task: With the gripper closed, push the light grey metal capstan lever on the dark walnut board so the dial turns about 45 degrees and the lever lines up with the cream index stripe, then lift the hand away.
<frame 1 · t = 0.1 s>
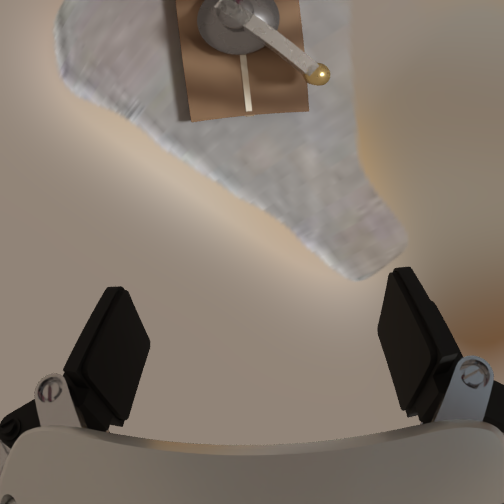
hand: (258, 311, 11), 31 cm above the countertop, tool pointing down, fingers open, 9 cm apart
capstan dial: (263, 34, 26), point 5 cm above the countertop, hinge at 45.0°
walnut board: (241, 37, 30), on the countertop
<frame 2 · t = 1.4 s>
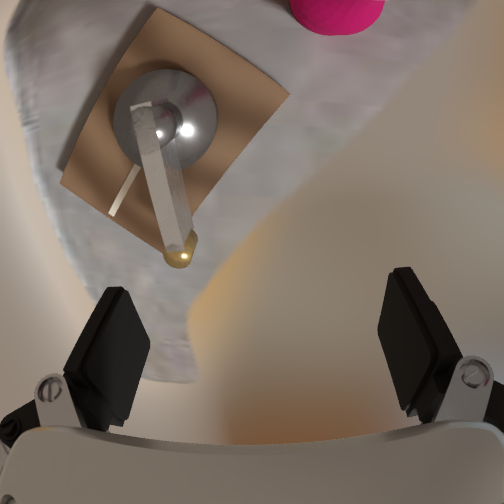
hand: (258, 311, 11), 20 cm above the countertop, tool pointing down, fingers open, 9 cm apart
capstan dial: (166, 166, 24), point 5 cm above the countertop, hinge at 45.0°
pepper mill: (324, 5, 20), on the countertop
walnut board: (161, 133, 27), on the countertop
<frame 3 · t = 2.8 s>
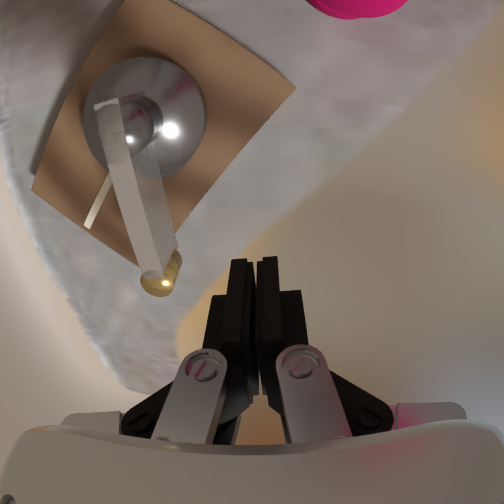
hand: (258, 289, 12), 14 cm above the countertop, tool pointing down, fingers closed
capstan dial: (142, 176, 19), point 5 cm above the countertop, hinge at 45.0°
walnut board: (142, 133, 22), on the countertop
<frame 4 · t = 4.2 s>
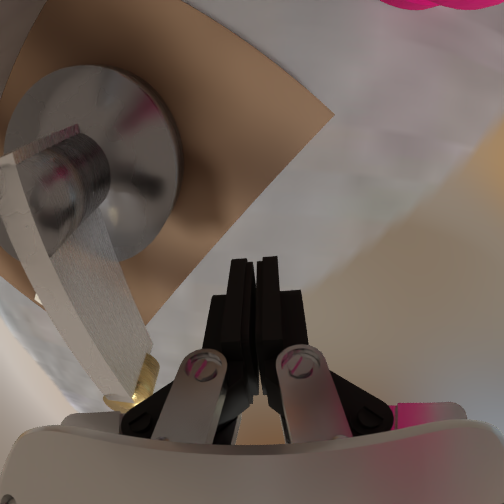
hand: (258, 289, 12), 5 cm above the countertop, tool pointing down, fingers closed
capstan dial: (86, 264, 12), point 5 cm above the countertop, hinge at 45.0°
walnut board: (94, 180, 15), on the countertop
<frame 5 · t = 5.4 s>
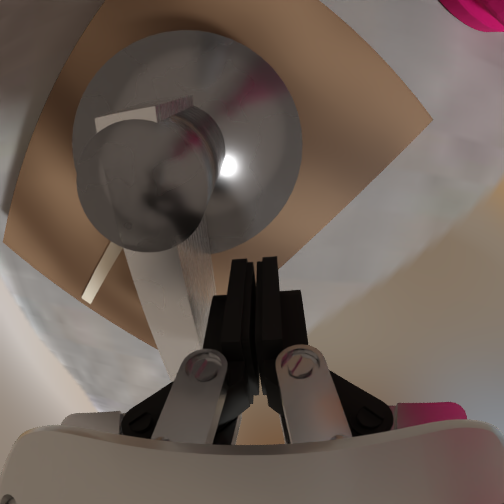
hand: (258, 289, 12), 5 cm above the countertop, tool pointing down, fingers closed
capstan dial: (182, 254, 11), point 5 cm above the countertop, hinge at 42.6°, touching gripper
walnut board: (171, 165, 14), on the countertop
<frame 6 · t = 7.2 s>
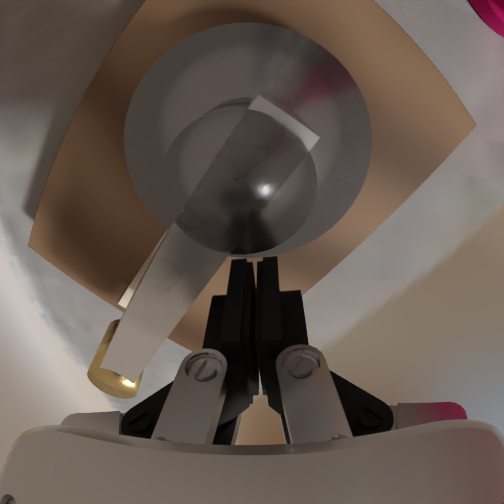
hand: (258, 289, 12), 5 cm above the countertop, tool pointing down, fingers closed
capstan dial: (187, 241, 11), point 5 cm above the countertop, hinge at 4.8°
walnut board: (222, 163, 14), on the countertop
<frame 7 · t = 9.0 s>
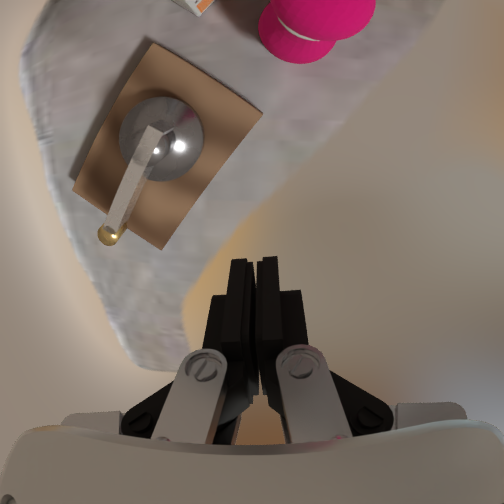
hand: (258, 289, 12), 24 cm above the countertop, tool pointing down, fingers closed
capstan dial: (139, 172, 29), point 5 cm above the countertop, hinge at 4.7°
pepper mill: (292, 35, 26), on the countertop
walnut board: (158, 148, 33), on the countertop
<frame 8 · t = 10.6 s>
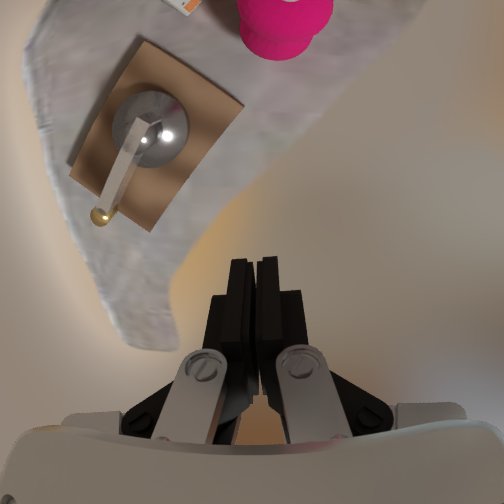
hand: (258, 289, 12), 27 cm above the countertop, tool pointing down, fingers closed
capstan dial: (129, 160, 31), point 5 cm above the countertop, hinge at 4.7°
pepper mill: (274, 33, 28), on the countertop
walnut board: (149, 137, 34), on the countertop
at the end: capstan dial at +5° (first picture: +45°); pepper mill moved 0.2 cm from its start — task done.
